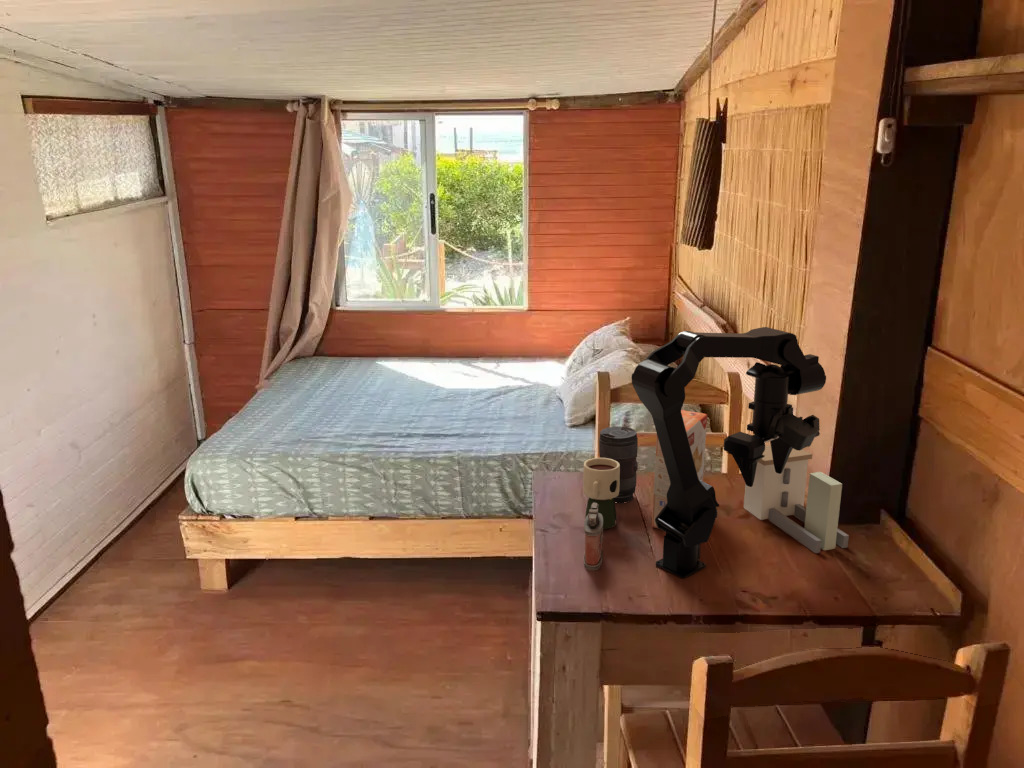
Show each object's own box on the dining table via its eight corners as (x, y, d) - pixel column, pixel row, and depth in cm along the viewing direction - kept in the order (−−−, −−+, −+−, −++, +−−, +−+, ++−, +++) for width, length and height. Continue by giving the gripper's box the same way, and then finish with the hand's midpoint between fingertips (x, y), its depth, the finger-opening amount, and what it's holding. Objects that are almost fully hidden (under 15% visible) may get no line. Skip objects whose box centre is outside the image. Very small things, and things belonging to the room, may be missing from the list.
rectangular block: (824, 550, 143) (831, 485, 140) (803, 535, 149) (809, 473, 145) (835, 548, 144) (842, 483, 140) (814, 534, 149) (820, 471, 146)
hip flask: (600, 571, 137) (601, 519, 135) (581, 569, 138) (582, 518, 135) (603, 549, 145) (604, 500, 142) (585, 548, 146) (586, 499, 143)
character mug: (612, 539, 149) (614, 476, 145) (576, 534, 151) (577, 472, 147) (623, 515, 159) (625, 456, 155) (589, 510, 161) (590, 452, 157)
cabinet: (806, 555, 142) (812, 489, 138) (740, 507, 161) (744, 448, 158) (856, 546, 145) (864, 481, 141) (785, 500, 164) (790, 442, 161)
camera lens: (614, 486, 173) (615, 422, 169) (643, 497, 167) (645, 431, 163) (590, 497, 167) (591, 431, 163) (619, 508, 162) (621, 441, 158)
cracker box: (679, 535, 150) (684, 433, 144) (650, 528, 153) (654, 428, 147) (703, 508, 161) (708, 412, 156) (675, 502, 164) (680, 408, 159)
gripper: (781, 420, 127) (773, 508, 131) (840, 398, 138) (832, 479, 142) (724, 405, 135) (719, 488, 139) (784, 385, 146) (778, 462, 151)
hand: (764, 479), depth 143 cm, fingers open, 9 cm apart
